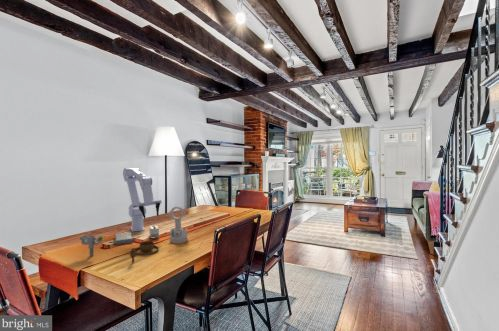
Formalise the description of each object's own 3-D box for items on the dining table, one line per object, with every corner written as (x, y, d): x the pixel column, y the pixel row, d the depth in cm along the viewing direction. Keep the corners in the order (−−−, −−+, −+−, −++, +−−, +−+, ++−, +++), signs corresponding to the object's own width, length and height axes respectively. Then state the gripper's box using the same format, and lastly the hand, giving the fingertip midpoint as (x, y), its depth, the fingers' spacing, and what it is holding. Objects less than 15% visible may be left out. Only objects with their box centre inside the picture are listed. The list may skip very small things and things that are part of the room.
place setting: (167, 252, 135) (167, 241, 134) (132, 265, 118) (132, 253, 117) (146, 245, 144) (146, 235, 144) (111, 257, 127) (111, 245, 127)
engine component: (183, 243, 147) (189, 238, 157) (184, 208, 147) (189, 205, 157) (165, 242, 148) (172, 237, 158) (166, 207, 148) (172, 204, 158)
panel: (115, 237, 155) (115, 233, 155) (131, 235, 159) (131, 231, 159) (115, 244, 142) (115, 240, 142) (132, 242, 147) (132, 238, 147)
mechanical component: (99, 257, 124) (99, 237, 124) (79, 257, 125) (79, 237, 124) (103, 255, 127) (103, 235, 127) (83, 254, 128) (83, 235, 127)
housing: (149, 235, 161) (149, 225, 161) (156, 234, 163) (156, 224, 163) (150, 239, 154) (151, 228, 154) (158, 238, 156) (158, 227, 156)
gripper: (135, 196, 153) (139, 218, 150) (160, 192, 160) (164, 213, 157) (135, 198, 159) (138, 220, 156) (159, 194, 166) (162, 215, 163)
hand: (151, 216), depth 157 cm, fingers open, 7 cm apart
